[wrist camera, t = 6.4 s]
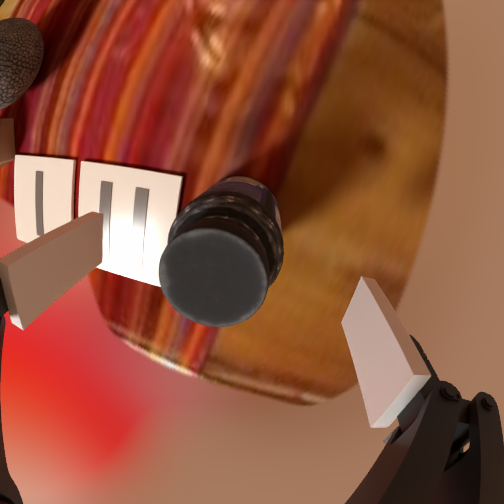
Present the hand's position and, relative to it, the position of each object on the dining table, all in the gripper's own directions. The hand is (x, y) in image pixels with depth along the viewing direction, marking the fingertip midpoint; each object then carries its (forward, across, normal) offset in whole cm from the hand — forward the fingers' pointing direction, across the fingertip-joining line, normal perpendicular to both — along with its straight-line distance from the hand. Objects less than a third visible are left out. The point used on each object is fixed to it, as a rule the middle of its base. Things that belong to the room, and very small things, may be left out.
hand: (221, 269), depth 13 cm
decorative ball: (+9, -26, +12) cm, 30 cm away
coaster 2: (+9, -10, -3) cm, 14 cm away
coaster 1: (+9, -21, -3) cm, 23 cm away
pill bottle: (+10, 0, 0) cm, 10 cm away
